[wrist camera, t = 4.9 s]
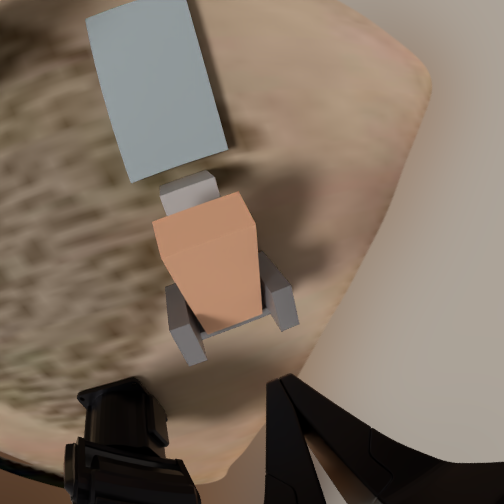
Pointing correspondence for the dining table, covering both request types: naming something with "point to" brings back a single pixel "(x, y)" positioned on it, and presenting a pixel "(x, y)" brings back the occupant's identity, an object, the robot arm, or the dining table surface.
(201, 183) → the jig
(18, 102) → the dining table surface
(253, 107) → the dining table surface
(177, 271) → the bar
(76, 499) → the robot arm
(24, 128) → the dining table surface
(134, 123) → the mat
